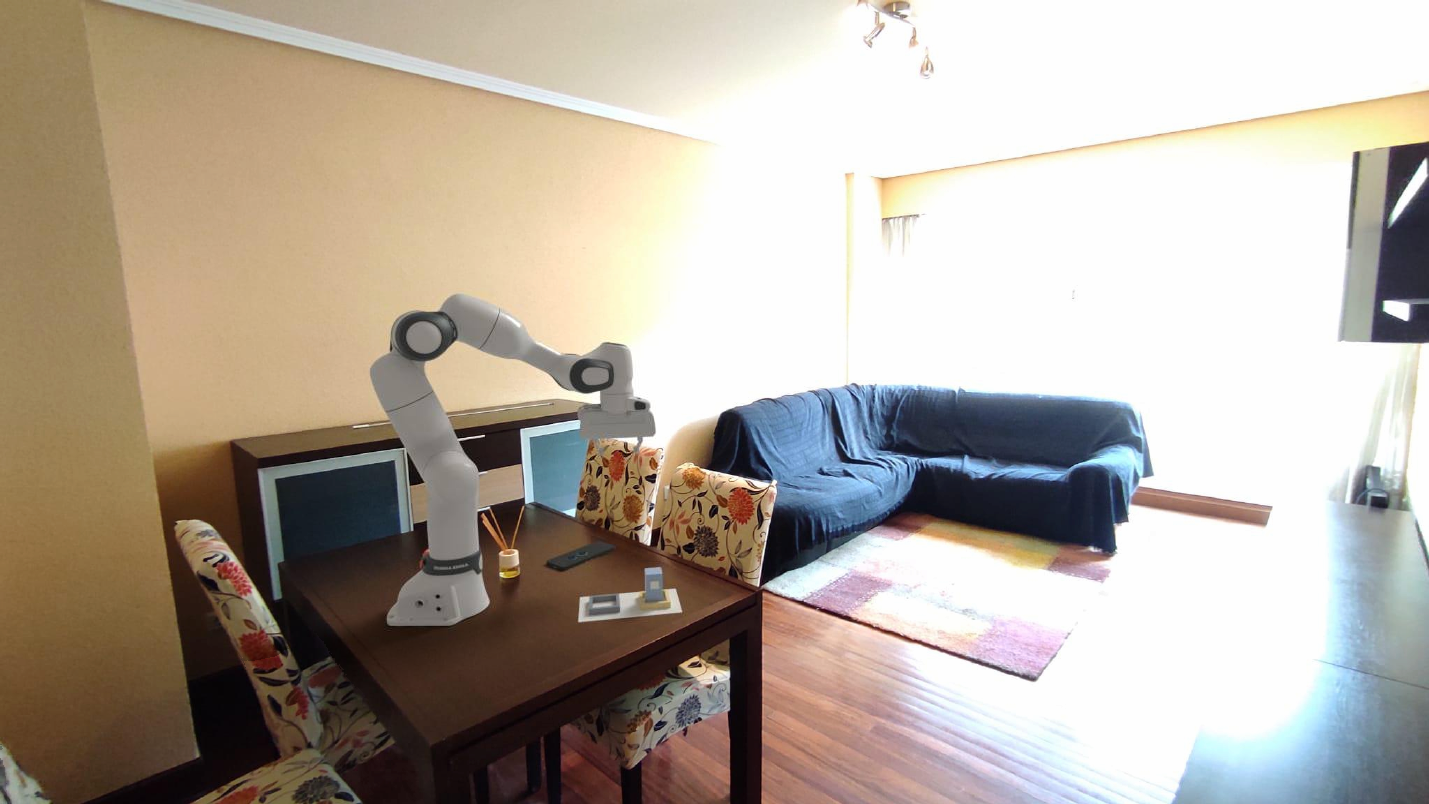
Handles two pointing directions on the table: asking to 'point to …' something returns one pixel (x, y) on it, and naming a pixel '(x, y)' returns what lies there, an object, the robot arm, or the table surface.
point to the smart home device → (580, 555)
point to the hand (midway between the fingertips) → (618, 454)
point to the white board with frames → (626, 606)
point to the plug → (653, 584)
